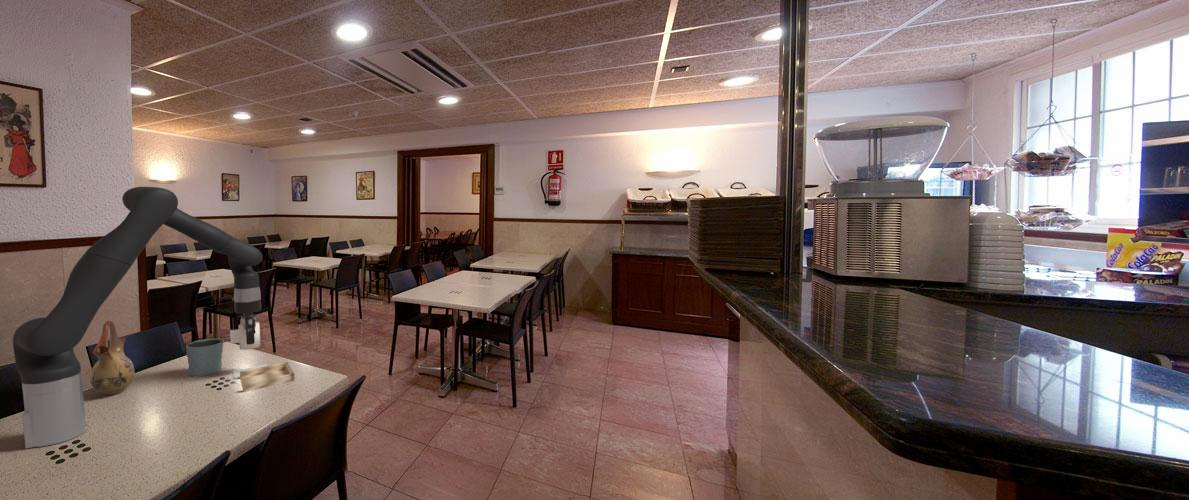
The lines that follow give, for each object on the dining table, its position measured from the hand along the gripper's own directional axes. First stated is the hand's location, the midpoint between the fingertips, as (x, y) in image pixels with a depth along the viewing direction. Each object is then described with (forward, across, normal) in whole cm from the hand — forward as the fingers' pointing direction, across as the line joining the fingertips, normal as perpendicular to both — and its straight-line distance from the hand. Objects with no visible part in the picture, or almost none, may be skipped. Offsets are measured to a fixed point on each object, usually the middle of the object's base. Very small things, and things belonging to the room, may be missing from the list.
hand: (249, 341), depth 146 cm
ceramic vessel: (+13, -9, -34) cm, 37 cm away
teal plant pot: (+13, -11, -12) cm, 21 cm away
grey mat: (+13, 0, 0) cm, 13 cm away
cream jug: (+2, 0, -1) cm, 2 cm away
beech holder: (+13, +12, +4) cm, 18 cm away
